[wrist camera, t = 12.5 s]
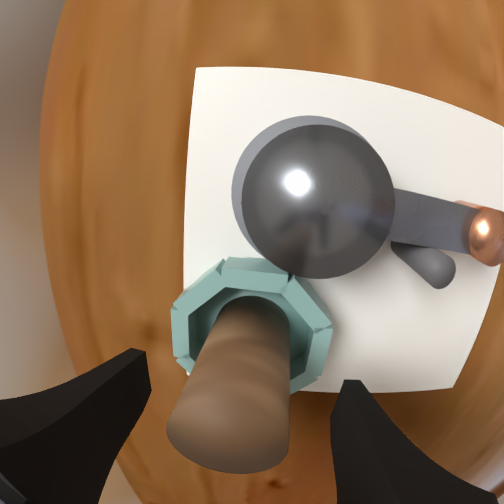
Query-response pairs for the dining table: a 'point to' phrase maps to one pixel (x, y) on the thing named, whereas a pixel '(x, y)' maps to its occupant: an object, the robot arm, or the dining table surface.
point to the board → (390, 253)
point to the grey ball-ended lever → (349, 207)
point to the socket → (264, 285)
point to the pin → (238, 391)
